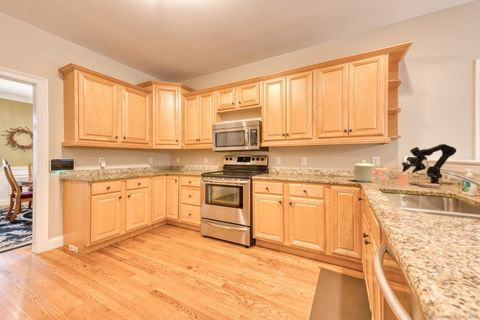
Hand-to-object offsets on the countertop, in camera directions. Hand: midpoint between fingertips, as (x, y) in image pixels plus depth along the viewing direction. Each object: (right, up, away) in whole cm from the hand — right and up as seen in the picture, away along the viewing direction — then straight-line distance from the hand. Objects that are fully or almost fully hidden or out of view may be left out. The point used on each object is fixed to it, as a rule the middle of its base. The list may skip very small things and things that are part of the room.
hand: (407, 172), depth 186 cm
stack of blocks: (-4, -10, +36) cm, 38 cm away
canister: (-27, -11, +22) cm, 36 cm away
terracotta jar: (-4, -11, 0) cm, 12 cm away
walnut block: (+7, -12, -14) cm, 20 cm away
